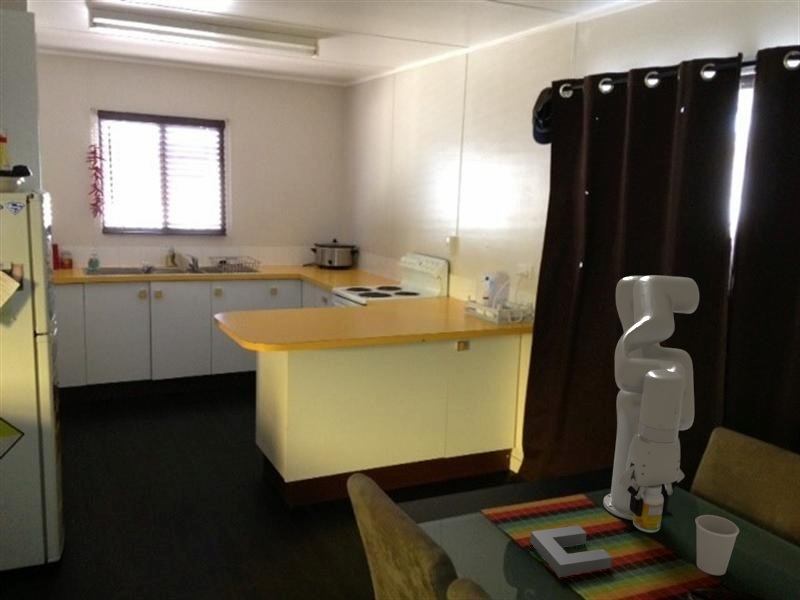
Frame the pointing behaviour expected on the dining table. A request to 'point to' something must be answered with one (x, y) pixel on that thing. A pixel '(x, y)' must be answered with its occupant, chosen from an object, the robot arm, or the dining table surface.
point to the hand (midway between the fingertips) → (648, 510)
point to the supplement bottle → (650, 509)
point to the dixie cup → (714, 543)
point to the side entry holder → (562, 562)
